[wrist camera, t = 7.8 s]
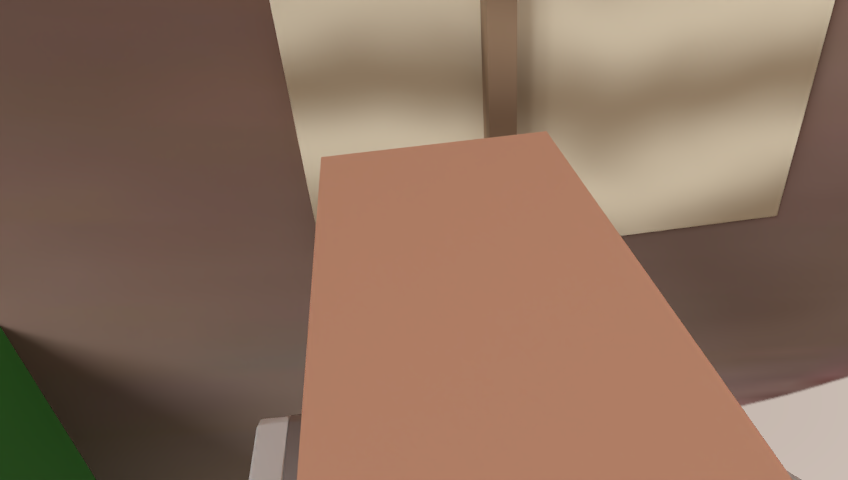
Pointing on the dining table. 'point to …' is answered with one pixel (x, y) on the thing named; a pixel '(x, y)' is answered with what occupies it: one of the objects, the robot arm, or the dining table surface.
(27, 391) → the hardback book
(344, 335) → the block
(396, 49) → the board
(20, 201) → the dining table surface
